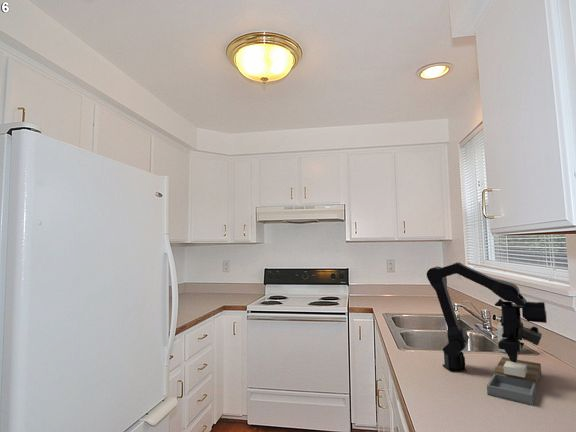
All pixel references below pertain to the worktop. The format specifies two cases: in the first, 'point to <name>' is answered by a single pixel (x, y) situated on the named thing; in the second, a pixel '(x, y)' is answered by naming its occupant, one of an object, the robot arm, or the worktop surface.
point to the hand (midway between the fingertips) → (514, 364)
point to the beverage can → (500, 334)
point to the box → (512, 389)
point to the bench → (532, 370)
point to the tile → (515, 369)
